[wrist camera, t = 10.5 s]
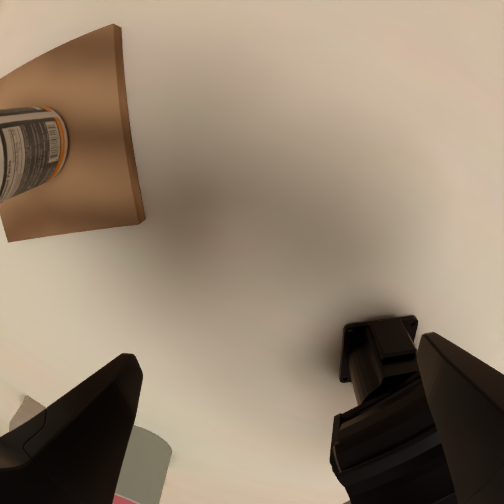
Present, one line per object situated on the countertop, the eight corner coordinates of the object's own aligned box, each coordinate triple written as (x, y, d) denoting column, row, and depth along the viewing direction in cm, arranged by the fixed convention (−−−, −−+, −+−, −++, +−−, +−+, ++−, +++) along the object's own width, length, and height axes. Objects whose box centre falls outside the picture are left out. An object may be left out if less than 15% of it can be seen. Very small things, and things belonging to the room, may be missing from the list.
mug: (183, 460, 34) (170, 521, 25) (130, 457, 36) (112, 511, 27) (128, 398, 29) (98, 472, 20) (73, 399, 31) (41, 458, 22)
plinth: (145, 218, 21) (138, 224, 20) (16, 237, 22) (8, 242, 21) (121, 27, 15) (113, 23, 14) (-9, 90, 17) (-18, 90, 15)
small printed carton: (47, 408, 33) (19, 458, 24) (48, 426, 36) (24, 470, 26) (27, 395, 32) (-3, 442, 23) (29, 414, 35) (4, 457, 26)
